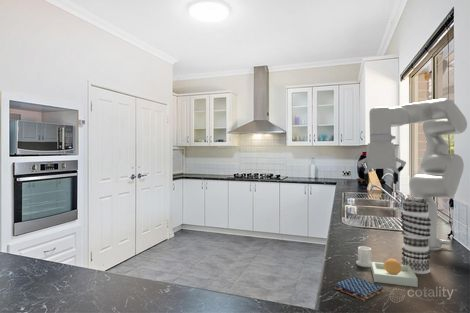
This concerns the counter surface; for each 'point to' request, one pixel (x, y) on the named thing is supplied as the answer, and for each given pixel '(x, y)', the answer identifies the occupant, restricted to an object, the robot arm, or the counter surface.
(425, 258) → the patterned cylinder
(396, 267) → the ball
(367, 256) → the white octagonal socket
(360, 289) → the woven mat
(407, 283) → the tray
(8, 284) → the counter surface
